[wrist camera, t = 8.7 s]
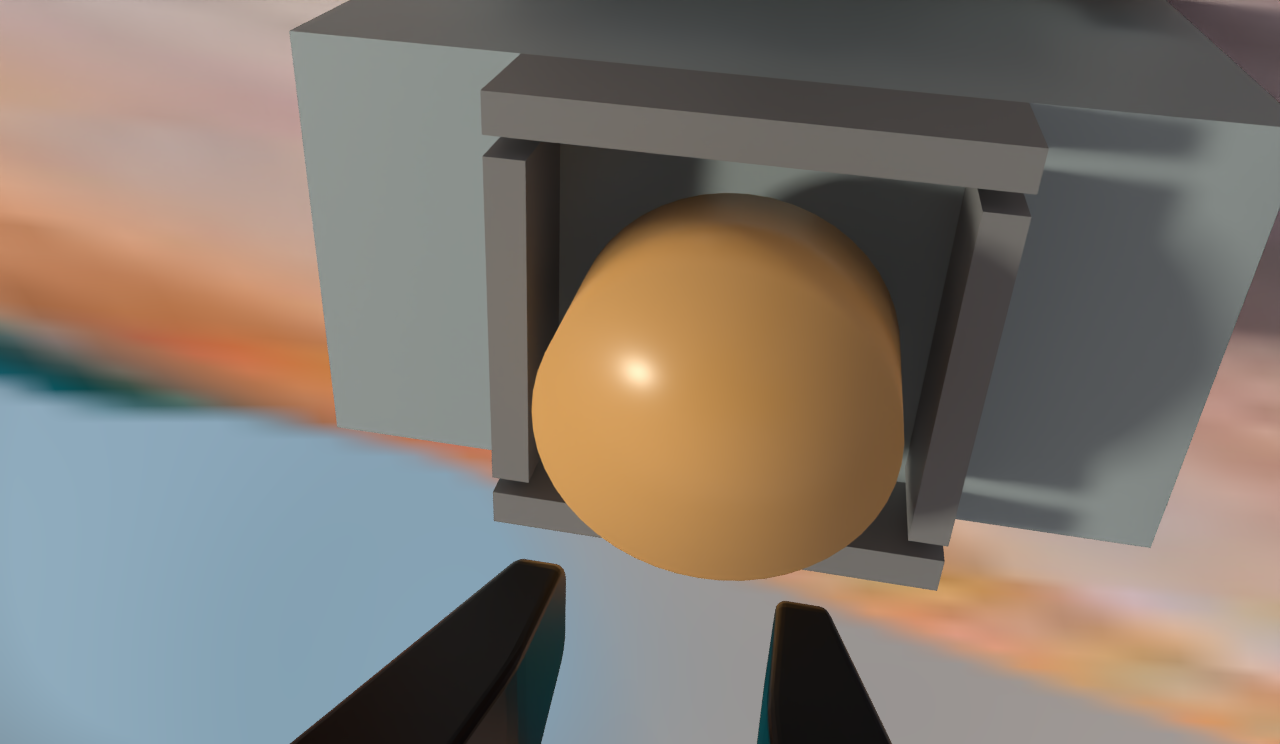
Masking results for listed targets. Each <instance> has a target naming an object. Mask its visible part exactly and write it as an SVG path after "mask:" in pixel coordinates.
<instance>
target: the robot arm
mask: <svg viewBox="0 0 1280 744" xmlns="http://www.w3.org/2000/svg"><path fill="white" fill-rule="evenodd" d="M565 598H566V576H565V572H564V569H563V568H562V567H561V566H559V565H557V564H552V563H546V562H539V561H532V560H526V559H520V560H517V561H515V562H513V563H512V564H510V565H509V566H508V567H507V568H506V569H504V570H503V571H502V572H501V573H499V574H498V575H497V576H496V577H494V578H493V579H492V580H491V581H489V582H488V583H487V584H486V585H485V586H483V587H482V588H481V589H480V590H478V591H477V592H476V593H475V594H473V595H472V596H471V597H470V598H469V599H468V600H466V601H465V602H464V603H463V604H461V605H460V606H459V607H457V608H456V609H455V610H454V611H453V612H451V613H450V614H449V615H448V616H447V617H445V618H444V619H443V620H442V621H440V622H439V623H438V624H437V625H435V626H434V627H433V628H432V629H431V630H429V631H428V632H427V633H426V634H424V635H423V636H422V637H421V638H420V639H418V640H417V641H416V642H414V643H413V644H412V645H411V646H410V647H408V648H407V649H406V650H405V651H403V652H402V653H401V654H400V655H398V656H397V657H396V658H395V659H394V660H392V661H391V662H390V663H389V664H388V665H386V666H385V667H384V668H382V669H381V670H380V671H379V672H378V673H376V674H375V675H374V676H373V677H372V678H370V679H369V680H368V681H367V682H365V683H364V684H363V685H362V686H360V687H359V688H358V689H357V690H355V691H354V692H353V693H352V694H351V695H349V696H348V697H347V698H346V699H345V700H343V701H342V702H341V703H340V704H338V705H337V706H336V707H335V708H333V710H331V711H330V712H328V713H327V714H326V715H325V716H323V717H322V718H321V719H320V720H319V721H317V722H316V723H315V724H314V725H313V726H311V727H310V728H309V729H307V730H306V731H305V732H304V733H303V734H301V735H300V736H299V737H298V738H296V739H295V740H294V741H293V742H292V743H290V744H541V741H542V737H543V733H544V729H545V725H546V721H547V717H548V713H549V709H550V705H551V701H552V697H553V693H554V689H555V685H556V681H557V677H558V673H559V669H560V665H561V661H562V656H563V650H564V641H565V604H566V599H565ZM757 744H892V743H891V741H890V739H889V737H888V735H887V733H886V730H885V728H884V726H883V724H882V722H881V720H880V718H879V716H878V714H877V712H876V710H875V707H874V705H873V703H872V701H871V699H870V697H869V695H868V693H867V691H866V689H865V687H864V685H863V683H862V681H861V678H860V676H859V674H858V672H857V670H856V668H855V666H854V664H853V662H852V660H851V658H850V656H849V653H848V651H847V649H846V647H845V645H844V643H843V641H842V639H841V637H840V635H839V633H838V631H837V629H836V626H835V624H834V622H833V620H832V618H831V616H830V615H829V613H828V612H827V610H825V609H824V608H822V607H820V606H813V605H807V604H801V603H795V602H789V601H782V602H780V603H779V604H778V605H777V606H776V609H775V615H774V622H773V629H772V635H771V642H770V648H769V655H768V662H767V669H766V675H765V683H764V691H763V699H762V707H761V715H760V723H759V731H758V739H757Z"/></svg>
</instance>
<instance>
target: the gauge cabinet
mask: <svg viewBox="0 0 1280 744" xmlns="http://www.w3.org/2000/svg"><path fill="white" fill-rule="evenodd" d="M289 32H290V40H291V48H292V57H293V65H294V73H295V81H296V89H297V98H298V106H299V114H300V122H301V131H302V139H303V147H304V155H305V164H306V172H307V180H308V188H309V197H310V205H311V213H312V221H313V230H314V238H315V246H316V254H317V263H318V271H319V279H320V287H321V296H322V304H323V312H324V320H325V328H326V337H327V345H328V353H329V361H330V370H331V378H332V386H333V394H334V403H335V411H336V419H337V427H340V428H347V429H354V430H360V431H367V432H374V433H380V434H387V435H394V436H401V437H407V438H414V439H421V440H428V441H434V442H441V443H448V444H455V445H461V446H468V447H475V448H481V449H488V450H492V476H493V477H494V478H500V479H499V481H498V483H497V485H496V487H495V489H494V491H493V507H494V521H498V522H505V523H511V524H517V525H523V526H529V527H536V528H542V529H549V530H555V531H561V532H567V533H574V534H580V535H586V536H593V537H599V538H602V537H601V536H599V535H598V534H597V533H595V532H594V531H593V530H592V529H591V528H590V527H589V526H587V525H586V524H585V523H584V522H583V521H582V520H581V519H580V518H579V517H578V516H577V515H576V514H575V513H574V512H573V511H572V509H571V508H570V507H569V506H568V505H567V504H566V502H565V501H564V500H563V498H562V497H561V495H560V494H559V493H558V491H557V490H556V489H555V487H554V485H553V483H552V481H551V480H550V478H549V476H548V474H547V472H546V470H545V468H544V466H543V463H542V460H541V458H540V455H539V453H538V449H537V445H536V441H535V437H534V432H533V422H532V398H533V389H534V385H535V380H536V376H537V372H538V369H539V367H540V364H541V362H542V359H543V357H544V354H545V352H546V350H547V348H548V346H549V344H550V342H551V341H552V339H553V337H554V335H555V333H556V331H557V329H558V327H559V325H560V324H561V322H562V320H563V318H564V316H565V314H566V312H567V310H568V308H569V307H570V305H571V303H572V301H573V299H574V297H575V295H576V293H577V291H578V290H579V288H580V286H581V284H582V282H583V280H584V278H585V276H586V274H587V273H588V271H589V269H590V267H591V266H592V264H593V262H594V261H595V259H596V257H597V256H598V255H599V253H600V252H601V251H602V250H603V248H604V247H605V246H606V245H607V244H608V242H609V241H610V240H611V239H612V238H613V237H614V236H616V235H617V234H618V233H619V232H620V231H621V230H622V229H623V228H624V227H626V226H627V225H629V224H630V223H632V222H633V221H634V220H636V219H637V218H639V217H640V216H642V215H644V214H646V213H648V212H650V211H652V210H654V209H656V208H658V207H660V206H662V205H665V204H668V203H671V202H674V201H677V200H680V199H684V198H689V197H693V196H698V195H703V194H717V193H740V194H752V195H758V196H763V197H769V198H773V199H777V200H780V201H783V202H787V203H790V204H793V205H796V206H798V207H800V208H802V209H805V210H807V211H809V212H811V213H813V214H815V215H817V216H819V217H820V218H822V219H824V220H825V221H827V222H829V223H830V224H832V225H834V226H835V227H836V228H837V229H839V230H840V231H841V232H842V233H844V234H845V235H846V236H847V237H849V238H850V239H851V240H852V241H853V242H854V243H855V244H856V245H857V246H858V247H859V248H860V249H861V250H862V251H863V252H864V253H865V254H866V255H867V257H868V258H869V259H870V261H871V262H872V264H873V265H874V266H875V268H876V269H877V271H878V272H879V273H880V275H881V277H882V279H883V281H884V283H885V285H886V287H887V289H888V291H889V293H890V296H891V299H892V301H893V304H894V307H895V310H896V315H897V320H898V325H899V331H900V353H901V374H902V396H903V418H904V450H903V458H902V465H901V468H900V472H899V475H898V478H897V482H896V485H895V487H894V489H893V491H892V493H891V495H890V497H889V499H888V501H887V503H886V504H885V506H884V507H883V509H882V510H881V512H880V513H879V515H878V516H877V517H876V519H875V520H874V521H873V522H872V523H871V524H870V525H869V527H868V528H867V529H866V530H865V531H864V532H863V533H862V534H861V535H860V536H859V537H857V538H856V539H855V540H854V541H852V542H851V543H850V544H849V545H848V546H846V547H845V548H843V549H842V550H840V551H839V552H837V553H835V554H834V555H832V556H830V557H829V558H827V559H825V560H823V561H821V562H818V563H816V564H814V565H812V566H810V567H807V568H804V569H802V570H808V571H815V572H821V573H827V574H834V575H840V576H846V577H853V578H859V579H865V580H872V581H878V582H885V583H891V584H897V585H904V586H910V587H916V588H923V589H929V590H935V591H937V589H938V585H939V581H940V577H941V573H942V569H943V565H944V551H943V546H948V545H949V541H950V537H951V533H952V529H953V526H954V522H955V519H959V520H966V521H973V522H980V523H986V524H993V525H1000V526H1007V527H1013V528H1020V529H1027V530H1033V531H1040V532H1047V533H1054V534H1060V535H1067V536H1074V537H1081V538H1087V539H1094V540H1101V541H1108V542H1114V543H1121V544H1128V545H1134V546H1141V547H1148V548H1151V545H1152V542H1153V540H1154V537H1155V534H1156V532H1157V529H1158V527H1159V524H1160V521H1161V519H1162V516H1163V513H1164V511H1165V508H1166V505H1167V503H1168V500H1169V498H1170V495H1171V492H1172V490H1173V487H1174V484H1175V482H1176V479H1177V477H1178V474H1179V471H1180V469H1181V466H1182V463H1183V461H1184V458H1185V455H1186V453H1187V450H1188V448H1189V445H1190V442H1191V440H1192V437H1193V434H1194V432H1195V429H1196V427H1197V424H1198V421H1199V419H1200V416H1201V413H1202V411H1203V408H1204V406H1205V403H1206V400H1207V398H1208V395H1209V392H1210V390H1211V387H1212V384H1213V382H1214V379H1215V377H1216V374H1217V371H1218V369H1219V366H1220V363H1221V361H1222V358H1223V356H1224V353H1225V350H1226V348H1227V345H1228V342H1229V340H1230V337H1231V335H1232V332H1233V329H1234V327H1235V324H1236V321H1237V319H1238V316H1239V313H1240V311H1241V308H1242V306H1243V303H1244V300H1245V298H1246V295H1247V292H1248V290H1249V287H1250V285H1251V282H1252V279H1253V277H1254V274H1255V271H1256V269H1257V266H1258V264H1259V261H1260V258H1261V256H1262V253H1263V250H1264V248H1265V245H1266V242H1267V240H1268V237H1269V235H1270V232H1271V229H1272V227H1273V224H1274V221H1275V219H1276V216H1277V214H1278V211H1279V208H1280V103H1279V102H1278V101H1277V100H1276V99H1275V98H1273V97H1272V96H1271V95H1270V94H1269V93H1268V92H1267V91H1266V90H1265V89H1263V88H1262V87H1261V86H1260V85H1259V84H1258V83H1257V82H1256V81H1255V80H1254V79H1252V78H1251V77H1250V76H1249V75H1248V74H1247V73H1246V72H1245V71H1244V70H1242V69H1241V68H1240V67H1239V66H1238V65H1237V64H1236V63H1235V62H1234V61H1233V60H1231V59H1230V58H1229V57H1228V56H1227V55H1226V54H1225V53H1224V52H1223V51H1221V50H1220V49H1219V48H1218V47H1217V46H1216V45H1215V44H1214V43H1213V42H1212V41H1210V40H1209V39H1208V38H1207V37H1206V36H1205V35H1204V34H1203V33H1202V32H1200V31H1199V30H1198V29H1197V28H1196V27H1195V26H1194V25H1193V24H1192V23H1191V22H1189V21H1188V20H1187V19H1186V18H1185V17H1184V16H1183V15H1182V14H1181V13H1179V12H1178V11H1177V10H1176V9H1175V8H1174V7H1173V6H1172V5H1171V4H1170V3H1168V2H1167V1H1166V0H349V1H347V2H345V3H343V4H341V5H339V6H337V7H336V8H334V9H332V10H330V11H328V12H326V13H324V14H322V15H320V16H318V17H316V18H314V19H312V20H310V21H308V22H306V23H304V24H302V25H300V26H298V27H296V28H294V29H292V30H290V31H289Z"/></svg>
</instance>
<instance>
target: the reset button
mask: <svg viewBox="0 0 1280 744" xmlns="http://www.w3.org/2000/svg"><path fill="white" fill-rule="evenodd" d="M532 422H533V432H534V437H535V441H536V445H537V449H538V453H539V455H540V458H541V460H542V463H543V466H544V468H545V470H546V472H547V474H548V476H549V478H550V480H551V481H552V483H553V485H554V487H555V489H556V490H557V491H558V493H559V494H560V495H561V497H562V498H563V500H564V501H565V502H566V504H567V505H568V506H569V507H570V508H571V509H572V511H573V512H574V513H575V514H576V515H577V516H578V517H579V518H580V519H581V520H582V521H583V522H584V523H585V524H586V525H587V526H589V527H590V528H591V529H592V530H593V531H594V532H595V533H597V534H598V535H599V536H601V537H602V538H603V539H605V540H606V541H608V542H609V543H611V544H612V545H613V546H615V547H617V548H618V549H620V550H622V551H624V552H626V553H627V554H629V555H631V556H633V557H634V558H637V559H639V560H641V561H644V562H646V563H648V564H651V565H653V566H655V567H658V568H662V569H665V570H668V571H671V572H674V573H678V574H682V575H687V576H692V577H697V578H704V579H714V580H735V581H744V580H755V579H765V578H770V577H775V576H780V575H785V574H789V573H792V572H795V571H798V570H801V569H804V568H807V567H810V566H812V565H814V564H816V563H818V562H821V561H823V560H825V559H827V558H829V557H830V556H832V555H834V554H835V553H837V552H839V551H840V550H842V549H843V548H845V547H846V546H848V545H849V544H850V543H851V542H852V541H854V540H855V539H856V538H857V537H859V536H860V535H861V534H862V533H863V532H864V531H865V530H866V529H867V528H868V527H869V525H870V524H871V523H872V522H873V521H874V520H875V519H876V517H877V516H878V515H879V513H880V512H881V510H882V509H883V507H884V506H885V504H886V503H887V501H888V499H889V497H890V495H891V493H892V491H893V489H894V487H895V485H896V482H897V478H898V475H899V472H900V468H901V465H902V458H903V450H904V418H903V396H902V374H901V353H900V331H899V325H898V320H897V315H896V310H895V307H894V304H893V301H892V299H891V296H890V293H889V291H888V289H887V287H886V285H885V283H884V281H883V279H882V277H881V275H880V273H879V272H878V271H877V269H876V268H875V266H874V265H873V264H872V262H871V261H870V259H869V258H868V257H867V255H866V254H865V253H864V252H863V251H862V250H861V249H860V248H859V247H858V246H857V245H856V244H855V243H854V242H853V241H852V240H851V239H850V238H849V237H847V236H846V235H845V234H844V233H842V232H841V231H840V230H839V229H837V228H836V227H835V226H834V225H832V224H830V223H829V222H827V221H825V220H824V219H822V218H820V217H819V216H817V215H815V214H813V213H811V212H809V211H807V210H805V209H802V208H800V207H798V206H796V205H793V204H790V203H787V202H783V201H780V200H777V199H773V198H769V197H763V196H758V195H752V194H740V193H717V194H703V195H698V196H693V197H689V198H684V199H680V200H677V201H674V202H671V203H668V204H665V205H662V206H660V207H658V208H656V209H654V210H652V211H650V212H648V213H646V214H644V215H642V216H640V217H639V218H637V219H636V220H634V221H633V222H632V223H630V224H629V225H627V226H626V227H624V228H623V229H622V230H621V231H620V232H619V233H618V234H617V235H616V236H614V237H613V238H612V239H611V240H610V241H609V242H608V244H607V245H606V246H605V247H604V248H603V250H602V251H601V252H600V253H599V255H598V256H597V257H596V259H595V261H594V262H593V264H592V266H591V267H590V269H589V271H588V273H587V274H586V276H585V278H584V280H583V282H582V284H581V286H580V288H579V290H578V291H577V293H576V295H575V297H574V299H573V301H572V303H571V305H570V307H569V308H568V310H567V312H566V314H565V316H564V318H563V320H562V322H561V324H560V325H559V327H558V329H557V331H556V333H555V335H554V337H553V339H552V341H551V342H550V344H549V346H548V348H547V350H546V352H545V354H544V357H543V359H542V362H541V364H540V367H539V369H538V372H537V376H536V380H535V385H534V389H533V398H532Z"/></svg>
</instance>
